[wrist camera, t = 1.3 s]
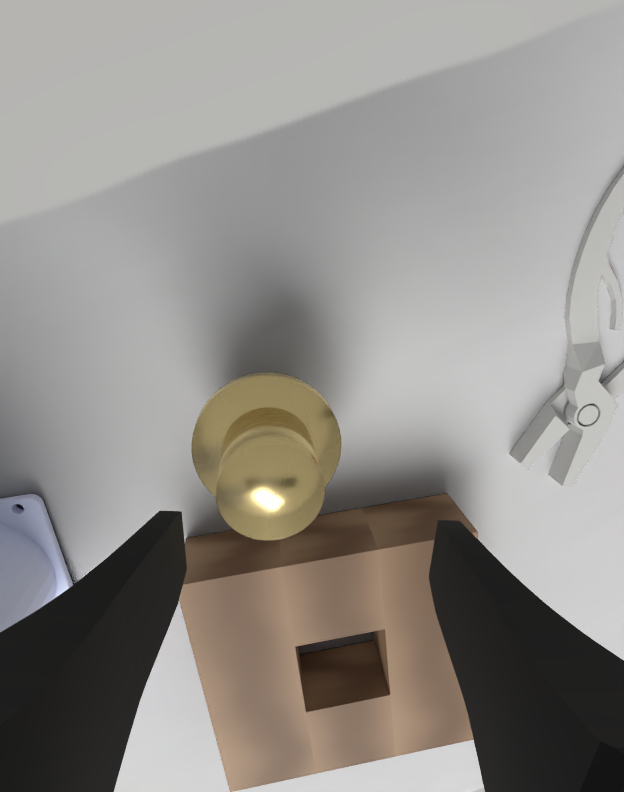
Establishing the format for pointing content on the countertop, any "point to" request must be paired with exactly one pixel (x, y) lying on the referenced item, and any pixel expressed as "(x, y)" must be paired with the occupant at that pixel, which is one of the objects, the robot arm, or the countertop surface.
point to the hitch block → (320, 621)
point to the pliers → (582, 357)
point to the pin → (267, 453)
